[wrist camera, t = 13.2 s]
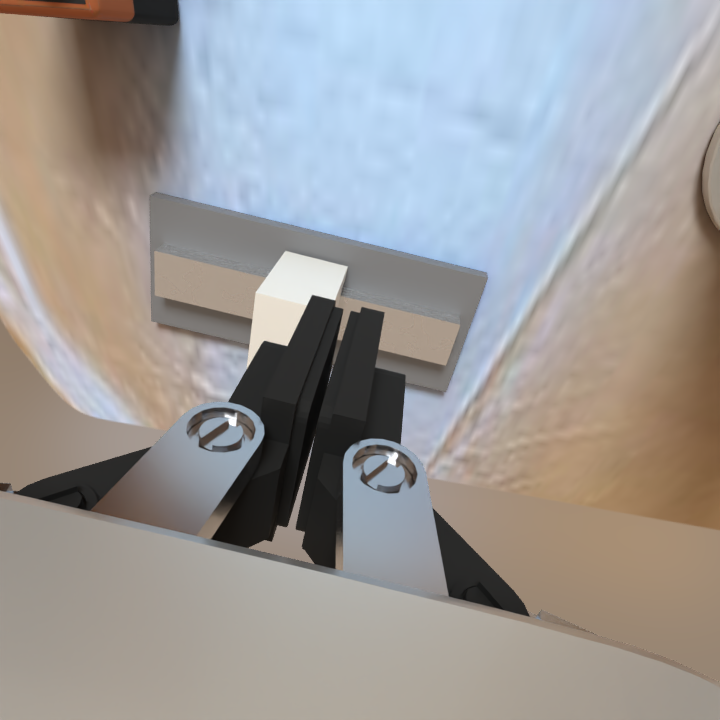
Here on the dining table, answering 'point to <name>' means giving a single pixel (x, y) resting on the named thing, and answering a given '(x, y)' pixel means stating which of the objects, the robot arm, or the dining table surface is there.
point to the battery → (98, 10)
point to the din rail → (401, 320)
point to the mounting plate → (271, 239)
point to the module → (291, 296)
